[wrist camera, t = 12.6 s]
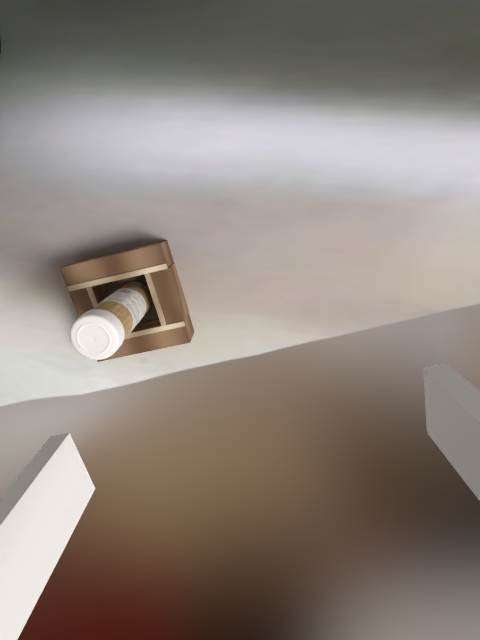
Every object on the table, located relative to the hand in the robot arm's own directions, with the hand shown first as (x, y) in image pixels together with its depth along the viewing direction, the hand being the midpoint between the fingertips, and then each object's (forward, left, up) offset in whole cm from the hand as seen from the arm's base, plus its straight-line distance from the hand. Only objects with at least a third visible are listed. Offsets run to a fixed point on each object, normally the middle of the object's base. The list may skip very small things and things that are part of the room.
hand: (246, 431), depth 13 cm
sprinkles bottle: (-7, -13, -32) cm, 35 cm away
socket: (-7, -13, -32) cm, 35 cm away
